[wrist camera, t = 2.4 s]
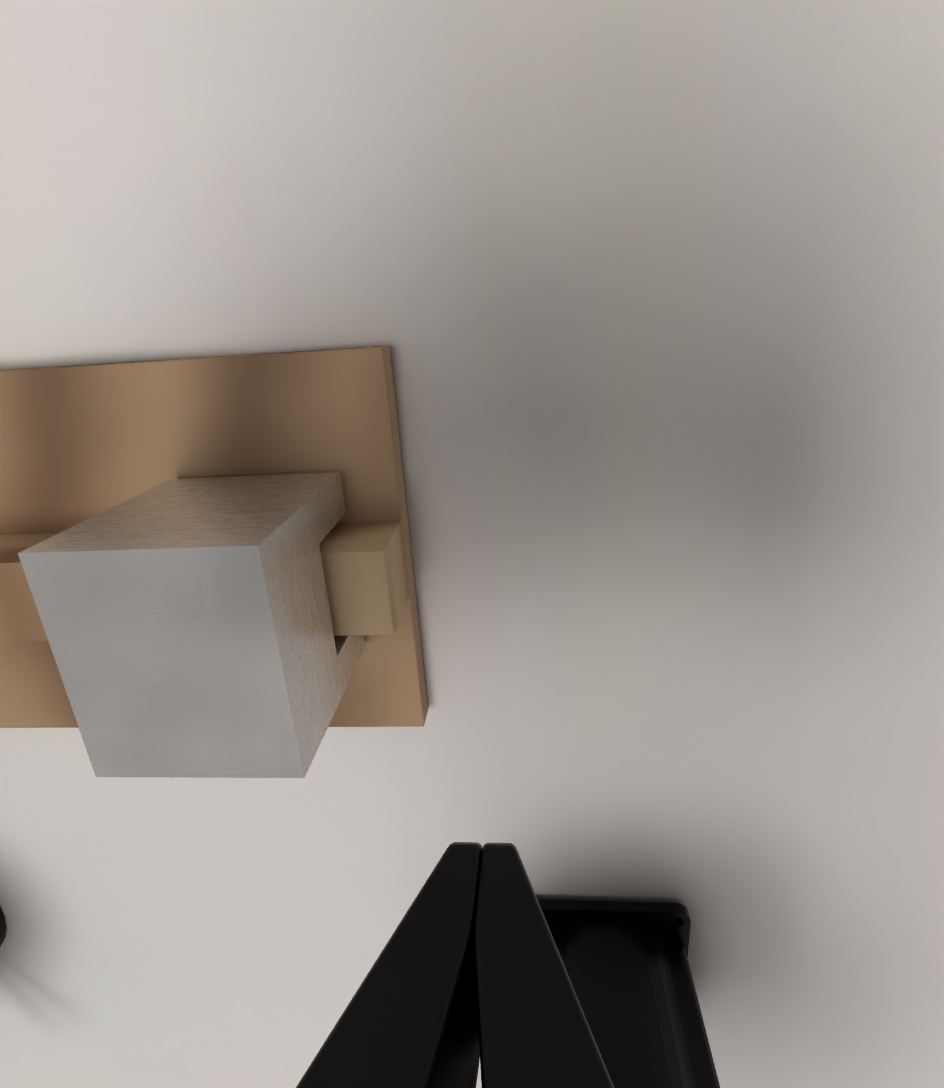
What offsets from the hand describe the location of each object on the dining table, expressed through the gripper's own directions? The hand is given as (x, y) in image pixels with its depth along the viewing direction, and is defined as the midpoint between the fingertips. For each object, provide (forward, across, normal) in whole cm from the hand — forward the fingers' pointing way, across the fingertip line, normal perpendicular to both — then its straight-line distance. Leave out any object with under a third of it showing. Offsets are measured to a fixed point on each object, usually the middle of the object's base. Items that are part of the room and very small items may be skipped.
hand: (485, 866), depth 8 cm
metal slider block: (+10, +7, 0) cm, 13 cm away
